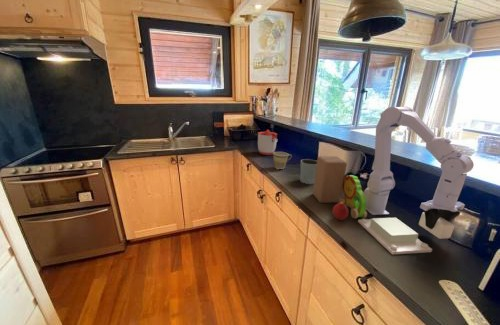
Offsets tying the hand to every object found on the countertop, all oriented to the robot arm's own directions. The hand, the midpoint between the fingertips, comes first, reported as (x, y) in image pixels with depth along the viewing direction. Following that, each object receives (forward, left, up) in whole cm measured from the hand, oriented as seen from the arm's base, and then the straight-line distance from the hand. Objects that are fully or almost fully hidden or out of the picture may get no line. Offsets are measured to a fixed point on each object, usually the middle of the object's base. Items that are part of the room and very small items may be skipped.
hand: (434, 227), depth 74 cm
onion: (-14, -27, -5) cm, 31 cm away
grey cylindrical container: (-53, -25, -5) cm, 59 cm away
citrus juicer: (-111, -37, -5) cm, 117 cm away
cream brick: (0, 0, -2) cm, 2 cm away
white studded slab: (-3, -13, -5) cm, 14 cm away
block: (-32, -24, -5) cm, 40 cm away
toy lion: (-21, -18, -5) cm, 28 cm away
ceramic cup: (-76, -34, -5) cm, 83 cm away
